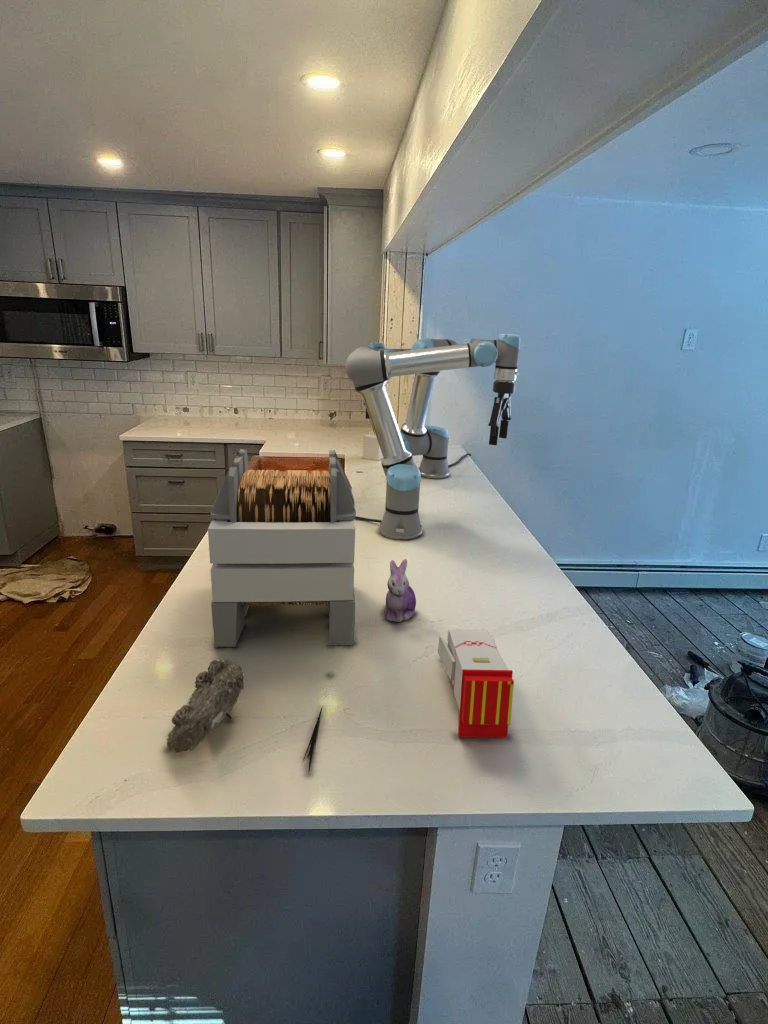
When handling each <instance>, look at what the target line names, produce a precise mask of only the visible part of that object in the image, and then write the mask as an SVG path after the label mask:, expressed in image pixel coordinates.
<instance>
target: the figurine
mask: <svg viewBox="0 0 768 1024" xmlns="http://www.w3.org/2000/svg"><path fill="white" fill-rule="evenodd" d="M407 567H408V559H406V558H404V559H403V560H402V561H401V563H400V565H399V566H398V565H397V563H396V562H395V561H394V560H393V559H391V560H390V561H389V570H390V576H389V578H388V579H387V589H388V591H387V592H386V594H385V595H386V596H385V607H384V615H385V616H386V620H387V621H391V622H395V623H400V622H402V621H406V620H409V619H410V618H411V617H413V616H414V615H415V610H416V606H417V597H416V593H415V591H414V590H413V587H411V586H410V582H409V579H408V577H407V574H406V571H407Z"/></svg>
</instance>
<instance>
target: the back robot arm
mask: <svg viewBox="0 0 768 1024" xmlns="http://www.w3.org/2000/svg"><path fill="white" fill-rule="evenodd" d="M458 344H459V343H458V342H457V341H455V340H453V339H449V338H445V339H444V338H422V339H421V338H420V339H417V341H415V342H414V343H413V344H412V346H411V348H387V347H386V344H385V343H384V342H378V341H377V342H376V341H374V342H371V343H370V344H369V347H371V348H373V349H375V350H376V351H381V350H386V351H387V352H388V353H392V352H400V351H409V350H417V349H425V348H433V347H442V346H450V345H458ZM440 373H441V371H435V372H427V373H419V374H414V379H413V382H412V390H411V394H410V400H409V404H408V409H407V415H406V418H405V422H404V423H403V424H401V427H400V430H399V431H400V434H401V437H402V440H403V443H404V446H405V449H406V450H407V451H409V452H411V454H412V457H416V456H422V459H421V462H420V464H419V467H417V468H418V469H419V471H420V474H421V478H422V477H423V478H426V479H433V480H434V479H435V480H437V479H438V480H440V479H446V478H449V477H450V472H451V471H450V469H449V468H450V467H453V466H455V465H457V464H459V463H461V461H462V460H463V459H464V458H466V457H467V456H469V457H472V454H471V453H470V452H467V453H466V454H463V455H462V456H461V457H460V458H459V459H458V460H456V461H455V462H453V463H451V464H449V463H448V451H449V450H448V449H449V440H450V432H449V430H448V429H447V428H445V427H441V426H437V425H436V426H435V425H425V424H426V420H427V415H428V410H429V406H430V403H431V402H430V401H431V397H432V392H433V388H434V385H435V379H436V377H437V376H439V375H440ZM363 406H365V420H366V419H367V420H368V419H369V420H370V417H369V414H368V411H367V408H366V405H365V402H363Z"/></svg>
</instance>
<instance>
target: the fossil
mask: <svg viewBox="0 0 768 1024" xmlns="http://www.w3.org/2000/svg"><path fill="white" fill-rule="evenodd" d="M243 670H244V669H243V667H242V665H240V664H237V662H236V661H235V660H234V659H232V658H231V659H227V658H226V659H224V660H223V661H222V660H217V659H212V660H211V661H210V663H209V665H208V666H207V671H201V672H199V673H198V674H197V675H196V676H195V680H194V684H195V685H194V687H195V689H194V690H193V693H192V694H191V697H190V698H189V700H188V704H184V705H182V706H181V707H180V709H177V710H176V711H175V713H174V715H173V716H172V718H171V723H172V724H173V727H172V730H171V731H170V732H168V734H167V738H166V741H167V742H166V745H167V749H168V750H169V751H173V752H174V753H176V754H178V753H182V752H188V751H189V752H192V751H193V750H195V748H196V747H197V746H199V744H200V743H201V742H203V741H204V740H205V739H206V738H207V737H208V736H209V735H210V734H211V733H212V732H214V730H215V729H217V727H218V726H219V724H220V722H221V721H222V720H223V719H224V718H225V716H226V717H227V719H229V720H233V717H232V715H230V714H229V710H230V709H231V708H234V706H235V704H236V703H237V702H238V699H239V697H240V695H241V693H242V691H243V690H245V689H244V688H245V675H244V671H243Z"/></svg>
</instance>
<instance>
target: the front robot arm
mask: <svg viewBox="0 0 768 1024" xmlns="http://www.w3.org/2000/svg"><path fill="white" fill-rule="evenodd" d="M520 352H521V336H520V335H519V334H510V333H500V334H498V337H497V339H485V338H484V339H483V338H465V339H463V340H462V343H458V345H450V346H442V347H433V348H425V349H417V350H409V351H400V352H392V353H388V352H387V351H386V350H381V351H376V350H375V349H373V348H371V347H370V346H366V345H365V346H359V347H357V348H355V349H353V351H351V353H350V354H349V355H348V356H347V359H346V362H345V371H346V375H347V377H348V378H349V380H351V381H352V384H353V387H354V390H355V392H356V393H358V394H359V395H361V396H362V399H363V401H364V402H365V405H366V406H365V405H364V406H365V409H366V408H367V411H368V414H369V417H370V419H369V420H370V423H371V425H372V428H373V431H374V435H376V437H377V440H378V443H379V446H380V449H381V452H382V454H383V458H382V459H381V462H380V464H381V467H382V470H383V473H384V476H385V481H386V482H385V483H386V485H385V504H384V505H385V507H384V508H385V509H384V513H383V515H382V519H376V518H368V517H362V516H357V515H356V517H355V518H354V520H359V521H365V522H371V523H377V524H378V523H379V527H378V533H379V534H380V535H381V536H382V537H385V538H387V539H389V540H395V541H410V540H415V539H418V538H420V537H421V536H422V535H423V525H422V524H421V518H420V515H419V507H420V506H419V505H420V504H419V503H420V490H421V483H422V476H421V474H420V471H419V469H418V468H419V467H417V465H416V463H415V460H414V456H412V454H411V452H409V451H407V450H406V449H405V446H404V443H403V440H402V437H401V434H400V431H401V430H400V427H399V425H398V422H397V419H396V415H395V413H394V410H393V407H392V404H391V400H390V398H389V395H388V392H387V388H386V385H387V383H388V381H390V379H392V378H393V377H402V376H409V375H415V374H419V373H427V372H435V371H440V372H441V371H450V370H457V369H467V368H475V367H476V368H477V367H482V368H486V367H491V366H493V364H494V363H495V366H494V374H493V380H494V381H493V384H492V392H493V393H497V396H494V400H493V405H492V409H491V414H490V418H489V422H488V424H487V425H488V427H490V429H489V440H488V446H489V445H490V446H498V439H499V438H500V439H507V438H508V429H509V421H512V416H511V415H512V413H511V412H512V409H511V407H512V403H511V402H512V401H511V400H512V395H513V394H515V391H516V380H517V376H518V375H519V371H518V367H519V366H518V365H519V358H520ZM364 402H363V403H364Z"/></svg>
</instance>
